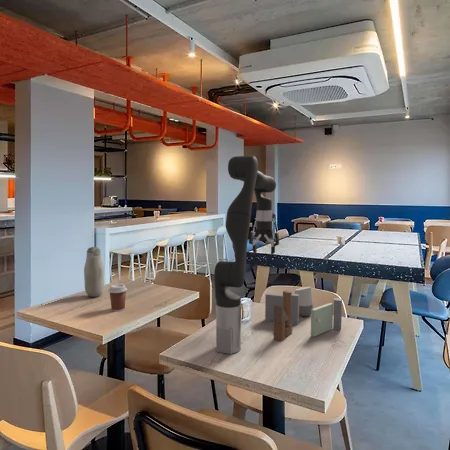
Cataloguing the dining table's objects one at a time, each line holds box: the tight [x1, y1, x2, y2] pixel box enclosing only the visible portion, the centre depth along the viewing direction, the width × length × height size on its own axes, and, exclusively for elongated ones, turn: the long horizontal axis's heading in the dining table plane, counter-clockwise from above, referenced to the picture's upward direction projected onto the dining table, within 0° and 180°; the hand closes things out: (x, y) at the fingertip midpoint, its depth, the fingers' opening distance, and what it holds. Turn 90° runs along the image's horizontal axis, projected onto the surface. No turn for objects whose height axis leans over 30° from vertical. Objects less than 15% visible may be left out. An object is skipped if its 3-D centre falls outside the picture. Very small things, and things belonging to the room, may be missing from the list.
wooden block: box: [273, 290, 293, 342], centre depth 157 cm, size 4×11×18 cm, turn 147°
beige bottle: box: [83, 246, 105, 298], centre depth 215 cm, size 10×10×28 cm
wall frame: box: [264, 293, 343, 331], centre depth 171 cm, size 3×33×13 cm, turn 67°
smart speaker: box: [294, 285, 314, 318], centre depth 184 cm, size 10×9×14 cm
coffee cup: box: [107, 283, 128, 312], centre depth 193 cm, size 9×9×12 cm
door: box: [310, 302, 334, 338], centre depth 161 cm, size 3×14×11 cm, turn 132°
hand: (263, 253), depth 184 cm, fingers open, 8 cm apart
